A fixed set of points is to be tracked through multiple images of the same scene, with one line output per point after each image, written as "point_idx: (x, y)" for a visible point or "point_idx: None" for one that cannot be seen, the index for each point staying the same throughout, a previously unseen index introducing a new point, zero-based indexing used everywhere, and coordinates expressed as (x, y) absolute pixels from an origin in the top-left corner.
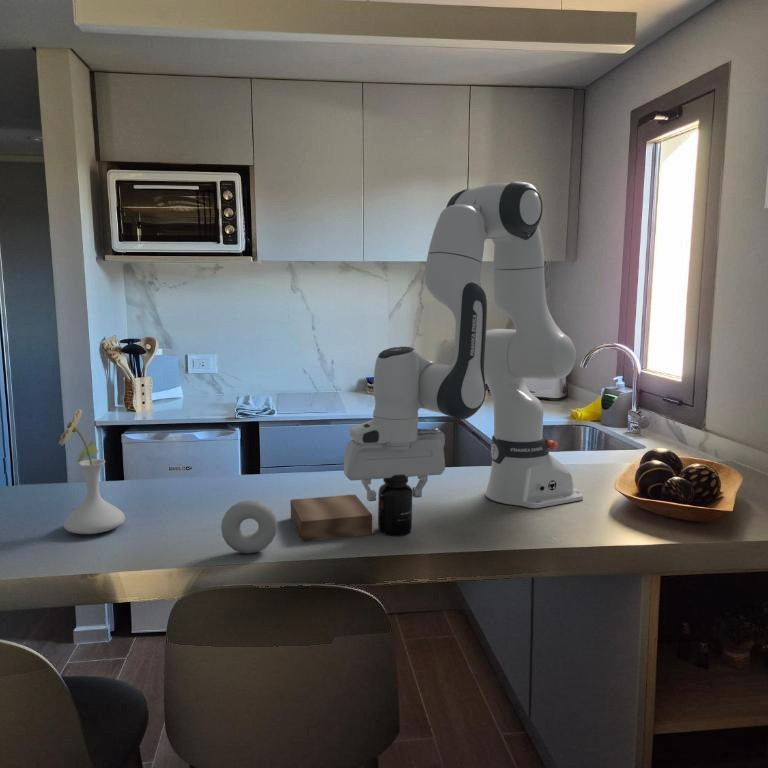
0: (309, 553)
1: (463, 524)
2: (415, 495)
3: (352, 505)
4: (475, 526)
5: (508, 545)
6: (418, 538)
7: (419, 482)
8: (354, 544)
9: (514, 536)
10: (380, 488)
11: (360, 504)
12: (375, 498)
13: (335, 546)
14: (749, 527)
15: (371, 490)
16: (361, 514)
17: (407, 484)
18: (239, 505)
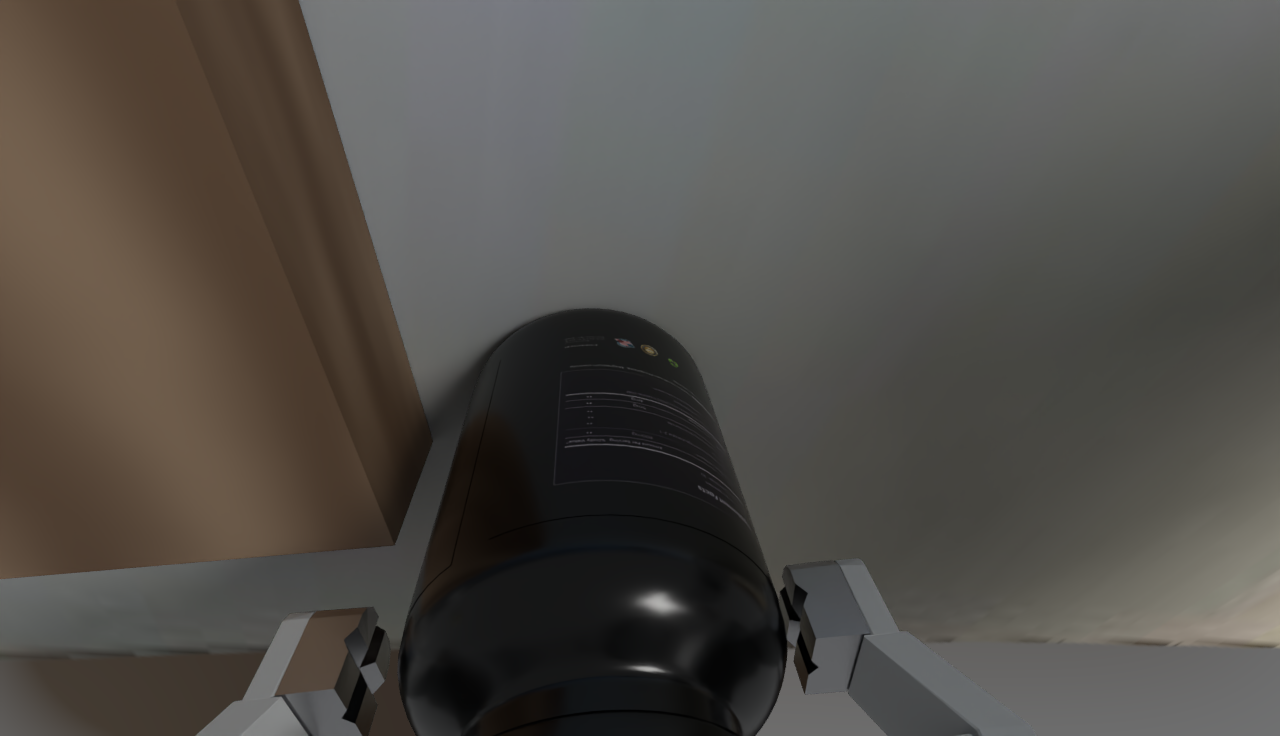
0: (86, 603)
1: (1063, 371)
2: (790, 635)
3: (158, 301)
4: (1099, 412)
5: (1038, 614)
6: None
7: (918, 707)
8: None
9: (1150, 546)
10: (410, 723)
11: (253, 282)
12: (377, 677)
13: None
14: None
15: (303, 699)
16: (299, 526)
17: (759, 704)
18: None
